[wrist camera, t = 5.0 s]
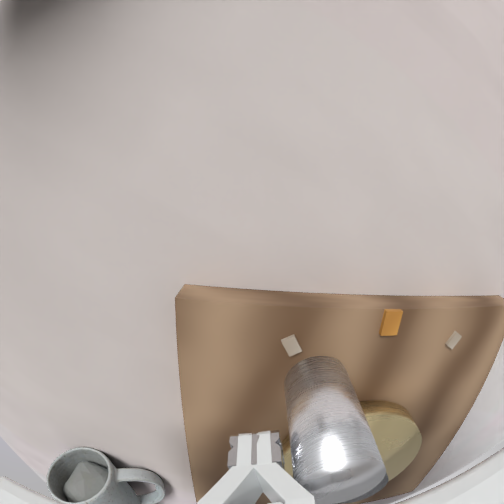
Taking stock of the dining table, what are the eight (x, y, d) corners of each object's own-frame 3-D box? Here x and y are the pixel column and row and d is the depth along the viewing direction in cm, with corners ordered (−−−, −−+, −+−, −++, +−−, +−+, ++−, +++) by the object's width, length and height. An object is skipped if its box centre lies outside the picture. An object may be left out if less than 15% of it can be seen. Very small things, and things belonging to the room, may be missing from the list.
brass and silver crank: (393, 300, 13) (482, 391, 6) (414, 453, 16) (445, 521, 9) (210, 370, 14) (180, 493, 7) (299, 495, 17) (306, 568, 10)
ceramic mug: (100, 484, 22) (81, 529, 15) (63, 441, 20) (33, 490, 13) (179, 495, 22) (168, 551, 14) (147, 453, 20) (125, 519, 12)
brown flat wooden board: (498, 295, 16) (517, 306, 13) (407, 478, 21) (413, 493, 18) (184, 284, 16) (173, 300, 14) (199, 490, 21) (196, 508, 19)
